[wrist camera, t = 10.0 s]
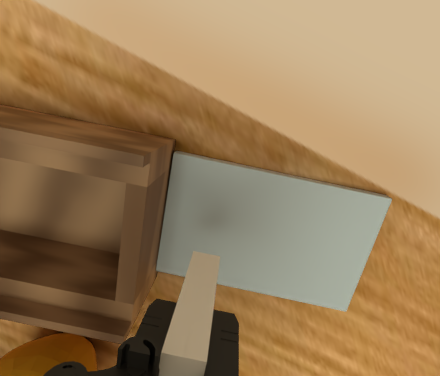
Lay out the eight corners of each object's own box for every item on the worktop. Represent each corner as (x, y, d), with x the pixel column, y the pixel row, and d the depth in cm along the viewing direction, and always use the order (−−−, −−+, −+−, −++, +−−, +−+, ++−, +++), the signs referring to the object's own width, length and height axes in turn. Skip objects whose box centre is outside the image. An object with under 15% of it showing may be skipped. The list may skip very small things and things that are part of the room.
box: (-45, 235, 24) (-158, 285, 17) (-60, 92, 21) (-207, 85, 14) (156, 276, 24) (123, 344, 17) (175, 139, 21) (144, 155, 14)
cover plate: (160, 261, 24) (155, 270, 23) (178, 149, 21) (173, 152, 20) (339, 299, 24) (346, 311, 23) (381, 192, 21) (392, 199, 20)
